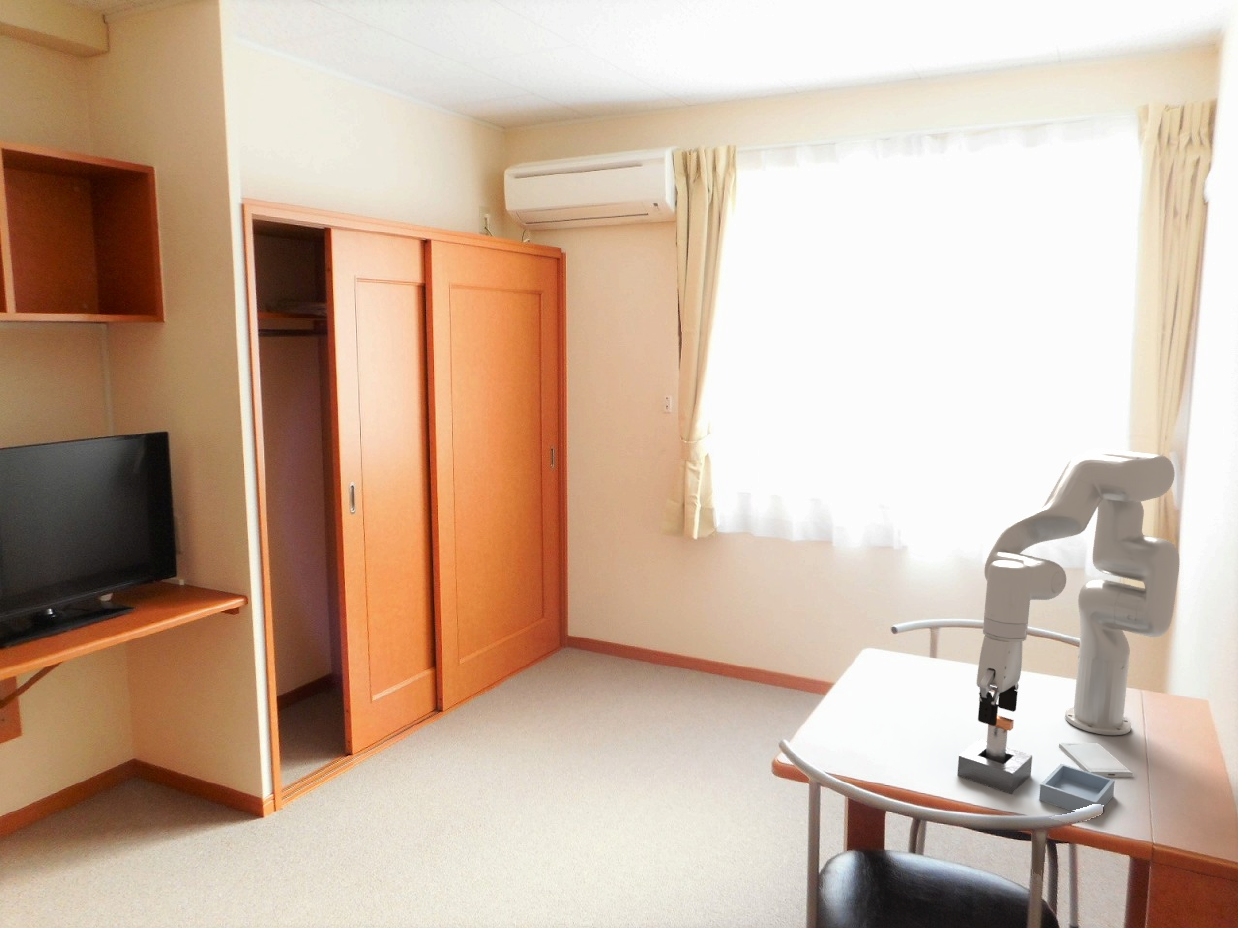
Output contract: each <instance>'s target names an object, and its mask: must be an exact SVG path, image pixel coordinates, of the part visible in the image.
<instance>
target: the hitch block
mask: <svg viewBox="0 0 1238 928" xmlns="http://www.w3.org/2000/svg"><path fill="white" fill-rule="evenodd" d="M986 747H987V740H984V739H981V738H979V739H978V740H977V741H975V742H973V744H972V745H970V746H969V747H968V748H966V749H965V750H964V751H963V752H961V753H960V754H958V763H957V776H958V777H960V778H964V779H966V780H969V781H971V782H976V783H977V784H978V783H979V784H981V785H984V786H987V787H989V788H993V789H995V790H998V791H1002V792H1004V793H1007V794H1010V795H1012V794H1013V793H1014V792H1016V790H1017V789H1019V787H1020V786H1021V785H1022V784H1023V783H1024V782H1026V781H1027V780H1028V779H1029V778H1030V776H1031V775H1032V762H1033V755H1032V754H1028V753H1026V752H1023V751H1019V750H1017V749H1013V748H1009V747H1007V746H1006V756H1005V764H1002V763H999V762H996V761H993V760H989V759H986Z"/></svg>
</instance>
